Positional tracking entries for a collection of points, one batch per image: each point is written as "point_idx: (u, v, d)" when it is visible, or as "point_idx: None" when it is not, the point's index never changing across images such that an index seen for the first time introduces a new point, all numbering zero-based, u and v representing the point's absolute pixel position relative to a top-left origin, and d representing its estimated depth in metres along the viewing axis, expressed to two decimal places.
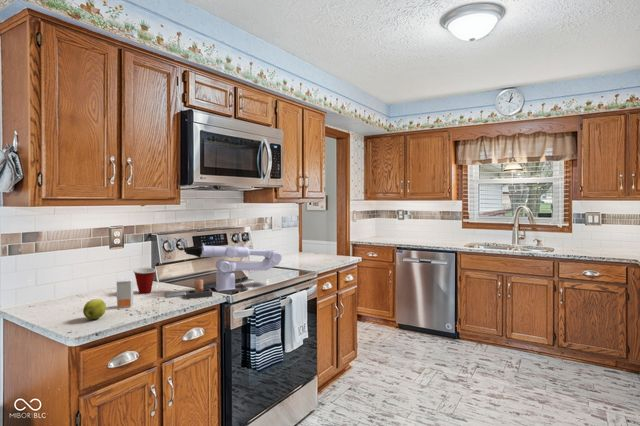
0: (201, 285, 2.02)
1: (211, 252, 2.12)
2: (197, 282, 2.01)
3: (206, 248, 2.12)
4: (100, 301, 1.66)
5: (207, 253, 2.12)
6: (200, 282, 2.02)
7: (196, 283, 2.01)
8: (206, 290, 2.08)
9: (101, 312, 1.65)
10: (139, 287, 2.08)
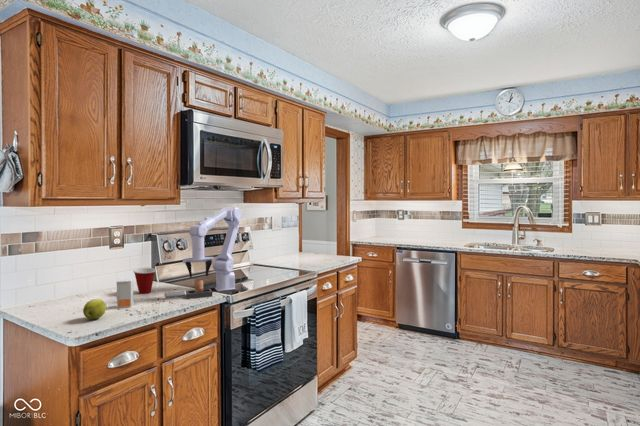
0: (201, 285, 2.02)
1: None
2: (197, 282, 2.01)
3: (203, 256, 2.02)
4: (100, 301, 1.66)
5: None
6: (200, 282, 2.02)
7: (196, 283, 2.01)
8: (206, 290, 2.08)
9: (101, 312, 1.65)
10: (139, 287, 2.08)
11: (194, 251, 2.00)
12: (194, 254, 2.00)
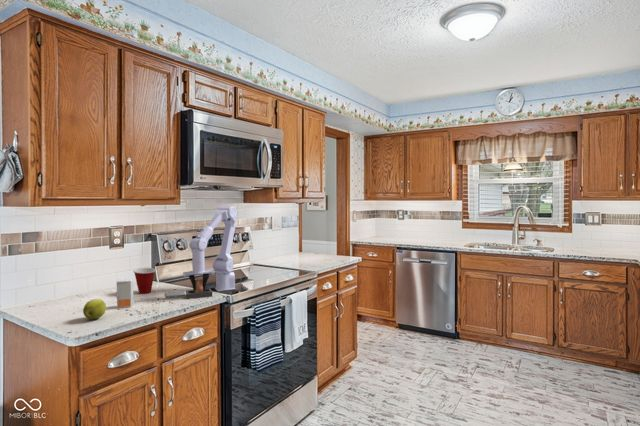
0: (201, 285, 2.02)
1: None
2: (197, 282, 2.01)
3: (203, 269, 2.02)
4: (100, 301, 1.66)
5: None
6: (200, 282, 2.02)
7: (196, 283, 2.01)
8: (206, 290, 2.08)
9: (101, 312, 1.65)
10: (139, 287, 2.08)
11: (194, 265, 2.00)
12: (194, 268, 2.00)
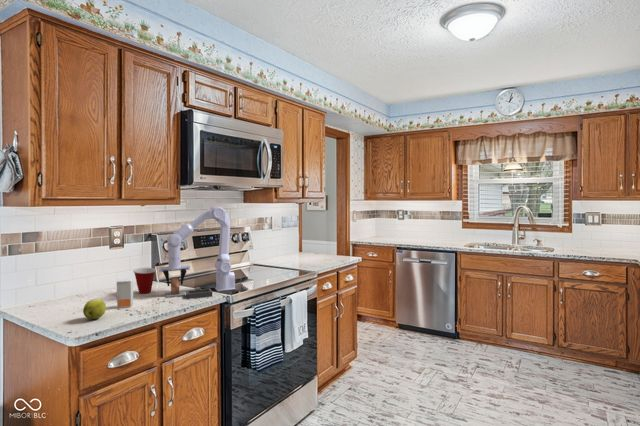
0: (177, 283, 2.05)
1: None
2: (173, 280, 2.04)
3: (179, 265, 2.05)
4: (100, 301, 1.66)
5: None
6: (176, 280, 2.04)
7: (172, 281, 2.04)
8: (206, 290, 2.08)
9: (101, 312, 1.65)
10: (139, 287, 2.08)
11: (170, 260, 2.03)
12: (170, 263, 2.03)
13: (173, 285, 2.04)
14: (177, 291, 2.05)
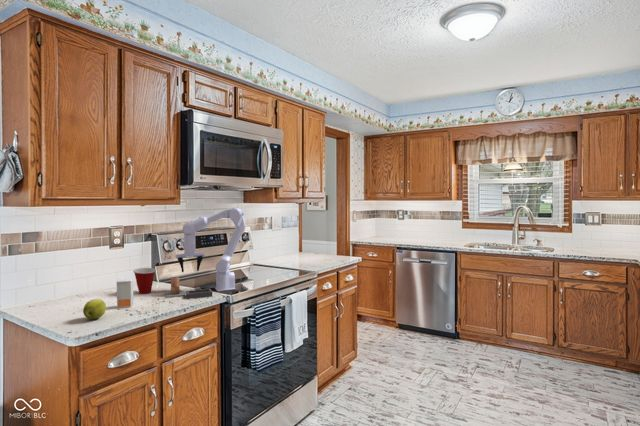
0: (177, 282, 2.05)
1: None
2: (173, 279, 2.04)
3: (194, 252, 2.16)
4: (100, 301, 1.66)
5: None
6: (176, 279, 2.05)
7: (172, 280, 2.04)
8: (206, 290, 2.08)
9: (101, 312, 1.65)
10: (139, 287, 2.08)
11: (186, 247, 2.14)
12: (186, 250, 2.14)
13: (173, 285, 2.04)
14: (177, 291, 2.05)
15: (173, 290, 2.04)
